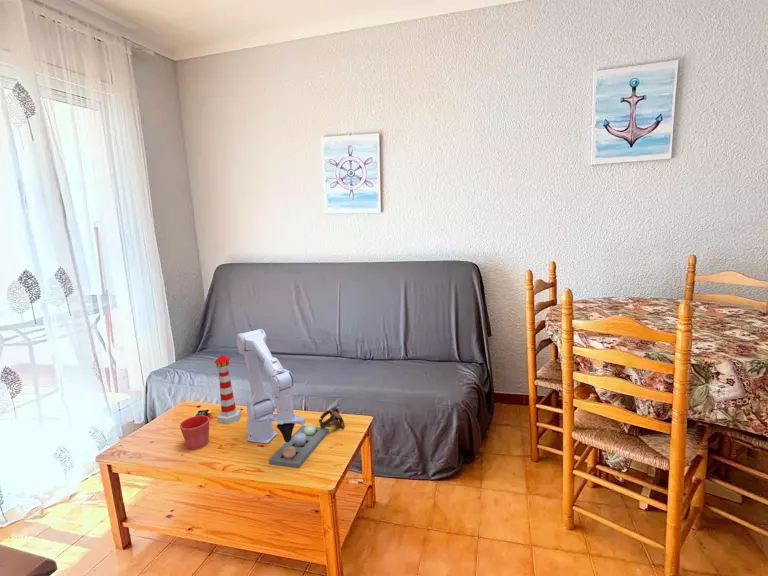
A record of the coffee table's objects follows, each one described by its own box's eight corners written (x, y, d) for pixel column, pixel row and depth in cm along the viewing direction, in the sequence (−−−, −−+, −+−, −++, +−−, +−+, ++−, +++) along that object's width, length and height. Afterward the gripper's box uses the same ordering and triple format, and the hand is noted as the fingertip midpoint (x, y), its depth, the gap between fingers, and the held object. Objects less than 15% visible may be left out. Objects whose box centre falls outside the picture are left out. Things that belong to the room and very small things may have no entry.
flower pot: (180, 454, 158) (176, 430, 157) (186, 439, 169) (183, 417, 167) (209, 449, 161) (206, 426, 159) (214, 435, 171) (211, 413, 169)
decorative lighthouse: (245, 415, 187) (238, 351, 182) (232, 425, 179) (223, 358, 174) (227, 412, 191) (219, 350, 185) (213, 422, 182) (204, 356, 177)
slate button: (292, 445, 157) (291, 438, 156) (298, 439, 161) (297, 432, 160) (302, 447, 156) (302, 439, 155) (308, 441, 160) (307, 433, 159)
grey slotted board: (268, 463, 149) (268, 459, 148) (302, 428, 172) (302, 425, 172) (298, 468, 145) (298, 464, 145) (328, 431, 168) (328, 428, 168)
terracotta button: (281, 460, 150) (280, 452, 149) (287, 453, 154) (286, 445, 153) (292, 461, 148) (291, 453, 148) (298, 455, 152) (297, 447, 152)
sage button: (302, 437, 165) (302, 429, 164) (308, 431, 169) (307, 424, 168) (312, 438, 163) (312, 431, 163) (317, 432, 167) (317, 425, 167)
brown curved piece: (344, 433, 167) (333, 419, 165) (325, 441, 170) (314, 428, 167) (348, 413, 178) (338, 399, 175) (330, 421, 181) (319, 407, 178)
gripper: (260, 408, 146) (264, 444, 148) (297, 412, 142) (300, 449, 144) (271, 400, 153) (275, 434, 155) (306, 403, 148) (310, 438, 151)
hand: (288, 440), depth 150 cm, fingers closed
